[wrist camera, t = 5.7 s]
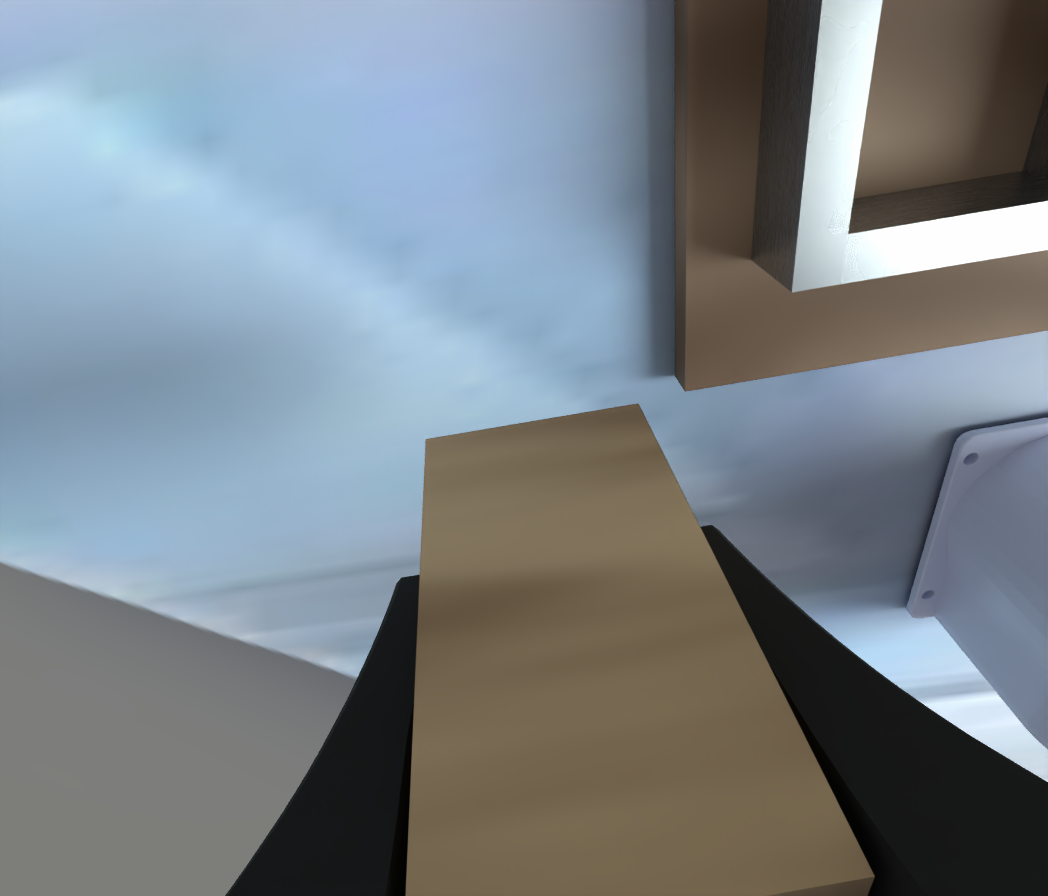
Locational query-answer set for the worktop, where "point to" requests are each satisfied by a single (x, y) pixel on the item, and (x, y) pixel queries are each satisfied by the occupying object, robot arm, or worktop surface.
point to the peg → (598, 687)
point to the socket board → (856, 181)
